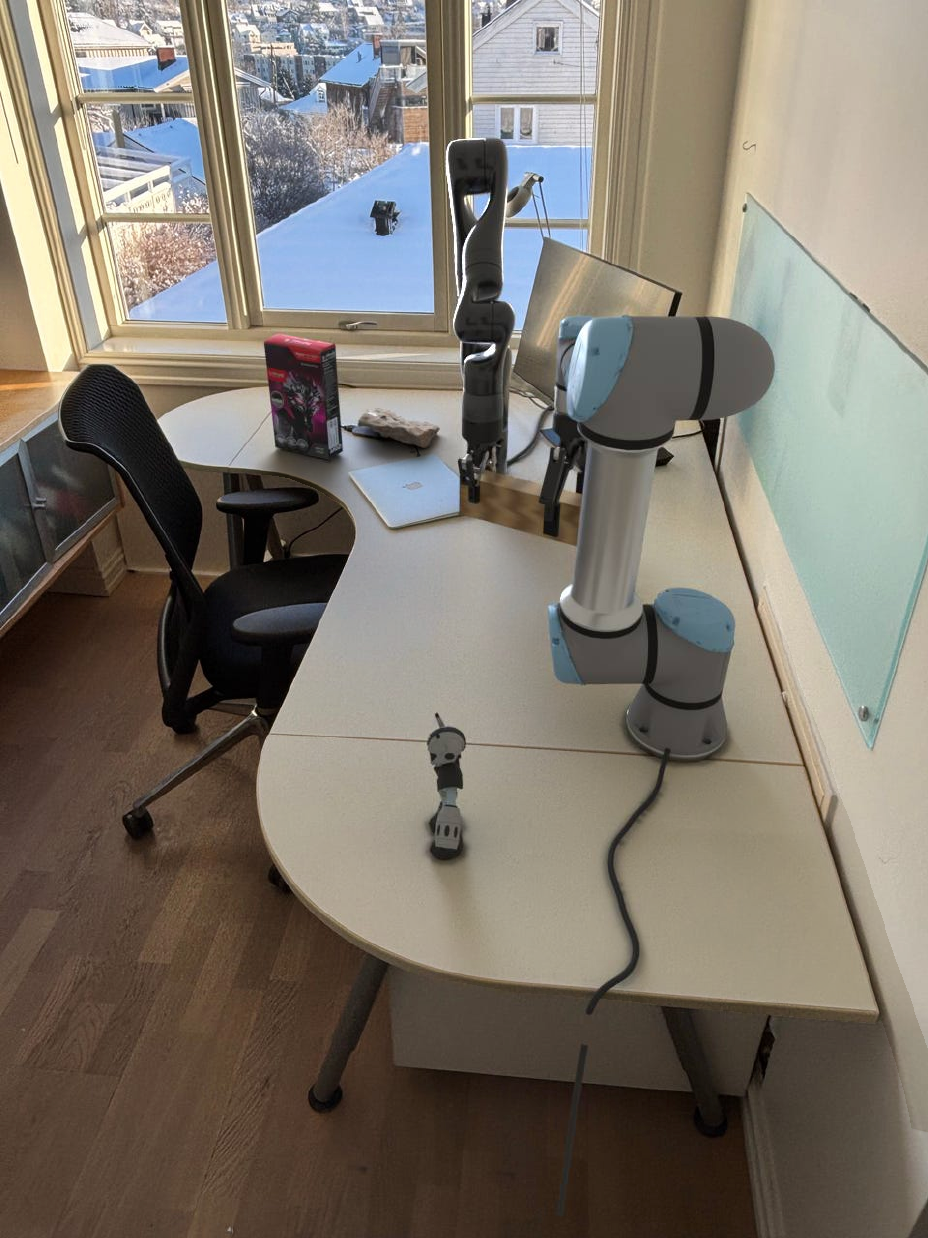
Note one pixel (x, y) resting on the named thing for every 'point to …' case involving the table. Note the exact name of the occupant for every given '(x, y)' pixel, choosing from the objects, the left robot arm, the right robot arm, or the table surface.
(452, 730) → the robot
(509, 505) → the bar
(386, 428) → the stone
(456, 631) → the table surface
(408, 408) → the table surface
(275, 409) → the graphics card box
